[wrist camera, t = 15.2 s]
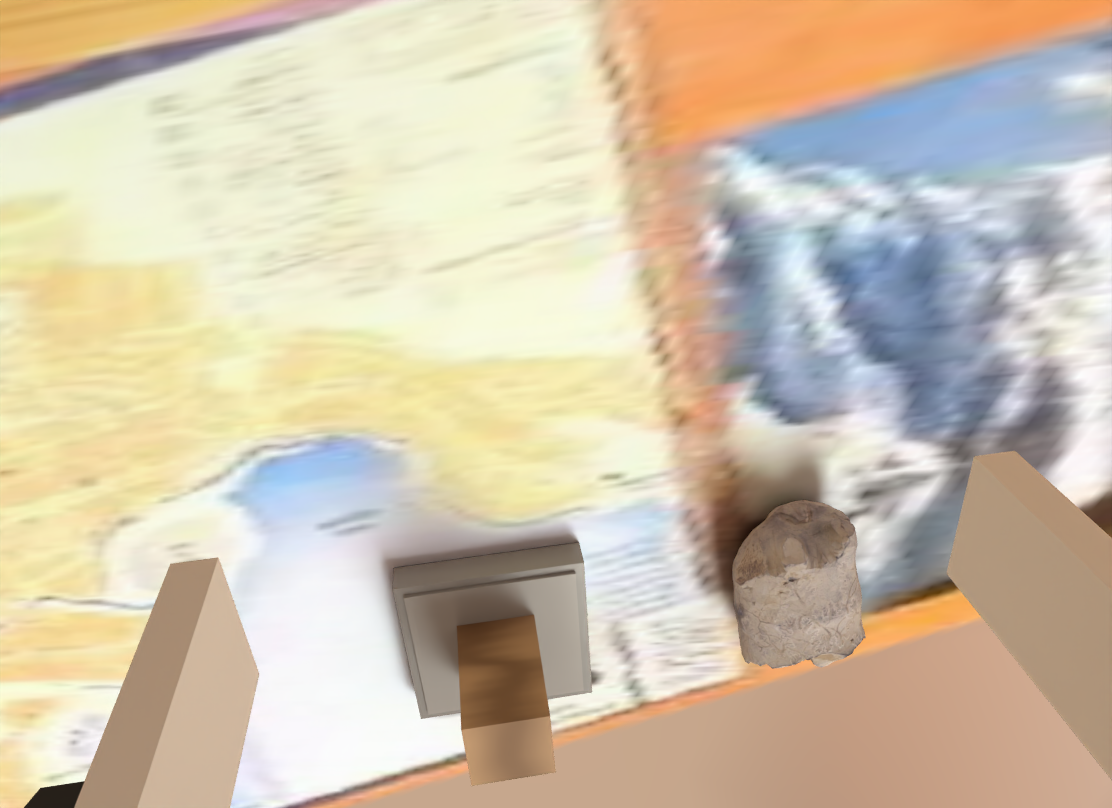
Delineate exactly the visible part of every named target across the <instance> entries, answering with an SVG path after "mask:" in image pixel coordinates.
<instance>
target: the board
mask: <svg viewBox="0 0 1112 808" xmlns="http://www.w3.org/2000/svg"><path fill="white" fill-rule="evenodd" d="M393 594H394V598H395V603H396V607H397V612H398V616H399V621H400V625H401V630H402V635H403V639H404V644H405V648H406V653H407V657H408V662H409V666H410V671H411V675H412V680H413V685H414V689H415V694H416V698H417V703H418V707H419V712H420V716H421V719H423V718H430V717H436V716H443V715H449V714H456V713H461V708H460V686H459V664H458V641H457V626H460V625H467V624H474V623H480V622H487V621H494V620H501V619H508V618H515V617H522V616H529V615H534V617H535V624H536V630H537V636H538V643H539V649H540V655H541V662H542V668H543V675H544V681H545V687H546V694H547V699H553V698H559V697H565V696H572V695H578V694H585V693H591V692H592V685H591V669H590V653H589V636H588V620H587V604H586V587H585V571H584V561H583V557H582V553H581V549H580V545H579V542H577V543H570V544H563V545H556V546H548V547H541V548H534V549H527V550H520V551H513V552H505V553H498V554H491V555H484V556H477V557H469V558H462V559H455V560H448V561H441V562H433V563H426V564H419V565H412V566H405V567H398V568H394V571H393Z"/></svg>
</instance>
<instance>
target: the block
mask: <svg viewBox="0 0 1112 808" xmlns="http://www.w3.org/2000/svg"><path fill="white" fill-rule="evenodd" d="M457 641H458V664H459V686H460V708H461V730H462V736H463V741H464V747H465V752H466V757H467V763H468V768H469V774H470V779H471V785H472V786H474V785H480V784H486V783H493V782H499V781H505V780H511V779H517V778H523V777H530V776H536V775H542V774H548V773H554V772H556V771H555V761H554V751H553V741H552V731H551V721H550V713H549V706H548V700H547V694H546V687H545V681H544V675H543V668H542V662H541V655H540V649H539V643H538V636H537V630H536V624H535V617H534V615H529V616H522V617H515V618H508V619H501V620H494V621H487V622H480V623H474V624H467V625H460V626H457Z"/></svg>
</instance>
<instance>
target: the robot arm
mask: <svg viewBox="0 0 1112 808" xmlns="http://www.w3.org/2000/svg"><path fill="white" fill-rule="evenodd" d="M947 575H948V576H949V577H950V578H951V580H952V581H953V582H954V583H955V585H956V586H957V587H958V588H959V590H960V591H961V592H962V593H963V595H964V596H965V597H966V598H967V600H968V601H969V602H970V603H971V605H972V606H973V607H974V608H975V610H976V611H977V612H978V613H979V615H980V616H981V617H982V618H983V620H984V621H985V622H986V623H987V624H988V626H989V627H990V628H991V629H992V631H993V632H994V633H995V634H996V636H997V637H998V638H999V640H1000V641H1001V642H1002V643H1003V645H1004V646H1005V647H1006V648H1007V650H1008V651H1009V652H1010V653H1011V655H1012V656H1013V657H1014V658H1015V660H1016V661H1017V662H1018V663H1019V665H1020V666H1021V667H1022V668H1023V670H1024V671H1025V672H1026V673H1027V675H1028V676H1029V677H1030V678H1031V680H1032V681H1033V682H1034V683H1035V685H1036V686H1037V687H1038V688H1039V690H1040V691H1041V692H1042V693H1043V695H1044V696H1045V697H1046V698H1047V700H1048V701H1049V702H1050V703H1051V705H1052V706H1053V707H1054V708H1055V710H1056V711H1057V712H1058V713H1059V715H1060V716H1061V717H1062V718H1063V720H1064V721H1065V722H1066V724H1067V725H1068V726H1069V727H1070V728H1071V730H1072V731H1073V732H1074V734H1075V735H1076V736H1077V737H1078V738H1079V740H1080V741H1081V742H1082V743H1083V745H1084V746H1085V747H1086V749H1087V750H1088V751H1089V752H1090V754H1091V755H1092V756H1093V757H1094V759H1095V760H1096V761H1097V762H1098V764H1099V765H1100V766H1101V767H1102V769H1103V770H1104V771H1105V772H1106V773H1107V775H1108V776H1109V777H1110V779H1111V780H1112V538H1111V537H1110V536H1109V535H1108V534H1107V533H1105V532H1104V531H1103V530H1102V529H1101V528H1100V527H1099V526H1098V525H1097V524H1095V523H1094V522H1093V521H1092V520H1091V519H1090V518H1089V517H1088V516H1087V515H1085V514H1084V513H1083V512H1082V511H1081V510H1080V509H1079V508H1078V507H1077V506H1075V505H1074V504H1073V503H1072V502H1071V501H1070V500H1069V499H1068V498H1067V497H1065V496H1064V495H1063V494H1062V493H1061V492H1060V491H1059V490H1058V489H1057V488H1055V487H1054V486H1053V485H1052V484H1051V483H1050V482H1049V481H1048V480H1047V479H1045V478H1044V477H1043V476H1042V475H1041V474H1040V473H1039V472H1038V471H1037V470H1035V469H1034V468H1033V467H1032V466H1031V465H1030V464H1029V463H1028V462H1027V461H1025V460H1024V459H1023V458H1022V457H1021V456H1020V455H1019V454H1018V453H1017V452H1015V451H1011V452H1003V453H996V454H988V455H981V456H974V460H973V464H972V468H971V472H970V477H969V481H968V485H967V489H966V493H965V498H964V502H963V506H962V510H961V515H960V519H959V523H958V527H957V532H956V536H955V540H954V544H953V549H952V553H951V557H950V561H949V566H948V570H947ZM258 677H259V672H258V669H257V666H256V663H255V661H254V658H253V655H252V652H251V649H250V646H249V643H248V641H247V638H246V635H245V632H244V629H243V626H242V623H241V621H240V618H239V615H238V612H237V609H236V606H235V603H234V601H233V598H232V595H231V592H230V589H229V586H228V584H227V581H226V578H225V575H224V572H223V569H222V566H221V564H220V561H219V558H211V559H204V560H197V561H189V562H182V563H174V564H170V566H169V569H168V571H167V574H166V577H165V579H164V582H163V584H162V587H161V589H160V592H159V594H158V597H157V599H156V602H155V604H154V607H153V609H152V612H151V614H150V617H149V620H148V622H147V625H146V627H145V630H144V632H143V635H142V637H141V640H140V642H139V645H138V647H137V650H136V652H135V655H134V658H133V660H132V663H131V665H130V668H129V670H128V673H127V675H126V678H125V680H124V683H123V685H122V688H121V690H120V693H119V696H118V698H117V701H116V703H115V706H114V708H113V711H112V713H111V716H110V718H109V721H108V723H107V726H106V728H105V731H104V733H103V736H102V739H101V741H100V744H99V746H98V749H97V751H96V754H95V756H94V759H93V761H92V764H91V766H90V769H89V771H88V774H87V777H86V779H85V781H83V782H77V783H70V784H64V785H57V786H51V787H44V788H40V789H39V790H38V792H37V793H36V794H35V795H34V796H33V798H32V799H31V800H30V801H29V802H28V803H27V805H26V806H25V807H24V808H230V805H231V800H232V795H233V791H234V786H235V782H236V777H237V773H238V768H239V764H240V759H241V754H242V750H243V745H244V741H245V736H246V732H247V727H248V723H249V718H250V713H251V709H252V704H253V700H254V695H255V691H256V686H257V682H258Z"/></svg>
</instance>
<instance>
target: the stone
mask: <svg viewBox="0 0 1112 808" xmlns="http://www.w3.org/2000/svg"><path fill="white" fill-rule="evenodd" d="M856 548H857V537H856V532H855V527H854V526H853V524H851V523H850V519H849V518H848V517H847V516H846V515H845V514H844V513H843V512H842V511H839V510H837V509H835V508H833V507H831V506H829V505H826V504H824V503H820V502H812V501H808V500H800V501H793V502H790V503H787V504H783V505H780V506H778V507H776V508H774V509H773V510H772V511H771V512H770V513H769V514H768V516H767V518H766V519H765V521H764V522H762V523H761V524H760V525H759V526H757V527H756V528H755V529H753V530H752V531H751V533H750V534H749V536H748V537H747V538H746V539H745V540H744V542H743V543H742V545H741V547H740V548H739V550H738V553H737V555H736V557H735V559H734V560H733V566H732V577H733V585H734V608H735V613H736V618H737V622H738V631H739V639H740V646H741V651H742V655H743V657H744V660H745V662H747V663H750V662H752V663H754V664H758V665H759V666H762V665H764V664H767V665H769V666H770V667H771V668H782V667H787V666H791V665H795V664H797V663H799V662H801V661H804V660H805V659H806V660H810V659H811V661H812V662H813V664H814V665H816V666H818V667H824V666H827V665H829V664H830V663H832V662H834V661H837V660H840V659H843V658H845V657H847V656H849V655H850V654H852V653H853V651H854V649H855V648H856V647H857V646H858V645H859V644H860V643H861V641H862V640H863V638H865V632H864V629H863V626H862V620H861V602H862V595H861V588H860V584H859V580H858V575H857V571H856V570H857V569H856V563H855V553H856Z"/></svg>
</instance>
